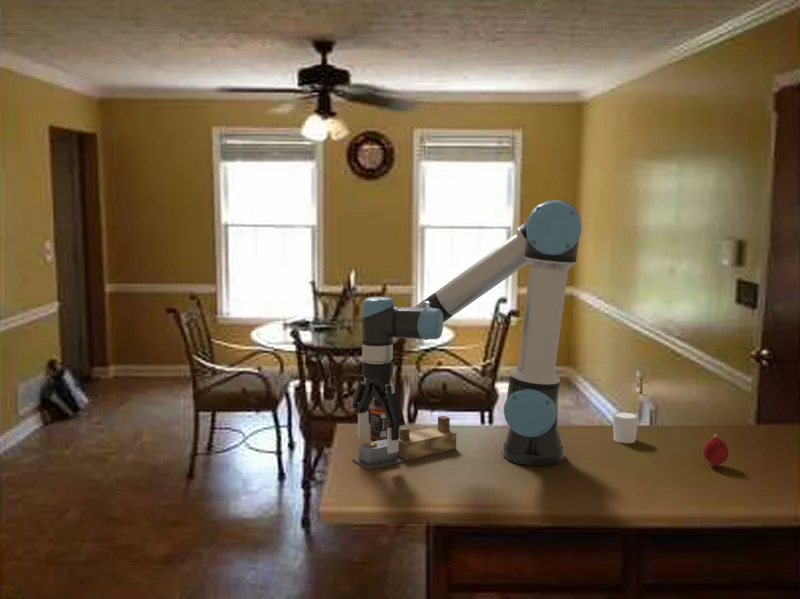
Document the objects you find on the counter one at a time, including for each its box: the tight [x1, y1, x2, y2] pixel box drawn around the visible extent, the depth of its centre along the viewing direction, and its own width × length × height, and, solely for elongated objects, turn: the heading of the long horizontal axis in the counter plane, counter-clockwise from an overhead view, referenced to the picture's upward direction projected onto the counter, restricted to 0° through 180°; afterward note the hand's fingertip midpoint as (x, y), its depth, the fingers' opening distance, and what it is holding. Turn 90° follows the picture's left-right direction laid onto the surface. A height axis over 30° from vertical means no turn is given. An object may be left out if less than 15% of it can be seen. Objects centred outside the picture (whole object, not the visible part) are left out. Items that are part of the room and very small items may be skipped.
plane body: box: [397, 415, 457, 462], centre depth 199 cm, size 16×7×8 cm, turn 124°
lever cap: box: [358, 439, 398, 466], centre depth 192 cm, size 5×8×4 cm, turn 124°
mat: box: [351, 457, 404, 471], centre depth 192 cm, size 8×10×1 cm
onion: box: [702, 433, 729, 467], centre depth 189 cm, size 6×6×8 cm
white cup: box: [612, 411, 640, 444], centre depth 209 cm, size 7×7×7 cm
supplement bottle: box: [369, 398, 389, 441], centre depth 210 cm, size 6×6×11 cm
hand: (377, 444), depth 191 cm, fingers open, 13 cm apart
